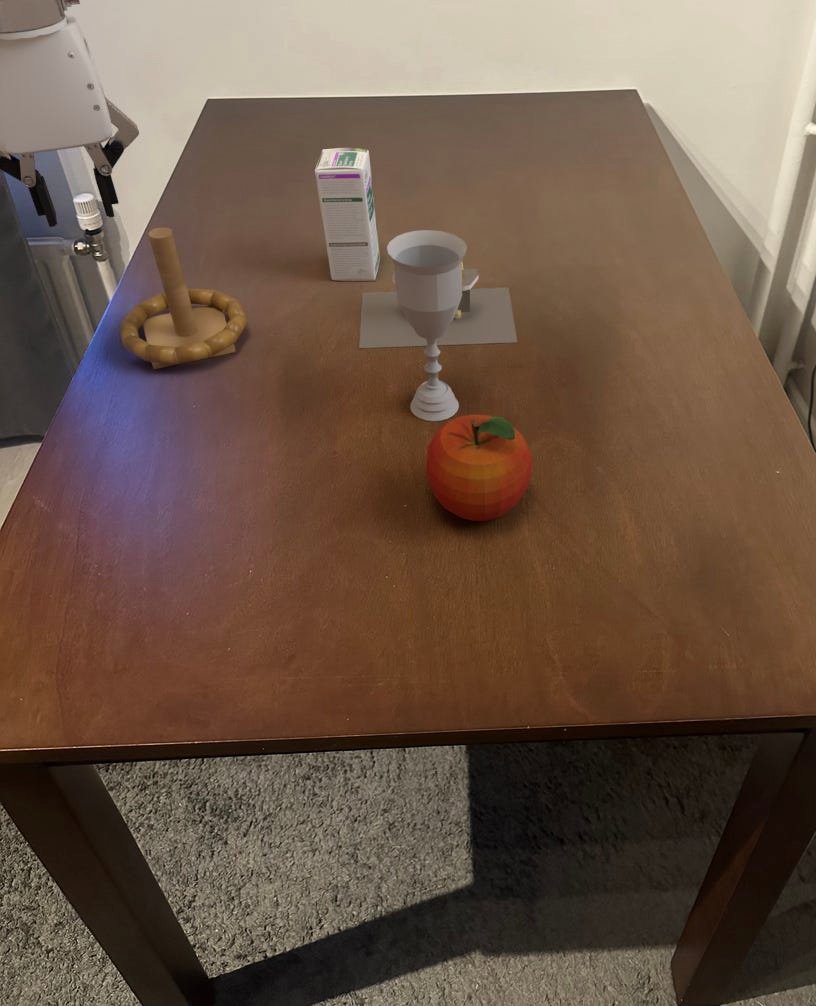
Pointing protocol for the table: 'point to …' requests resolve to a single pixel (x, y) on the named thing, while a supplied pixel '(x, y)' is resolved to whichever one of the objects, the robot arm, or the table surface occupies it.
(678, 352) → the table surface
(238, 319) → the ring
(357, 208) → the syrup box
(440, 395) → the chalice
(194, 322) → the post
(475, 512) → the fruit
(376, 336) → the platform
